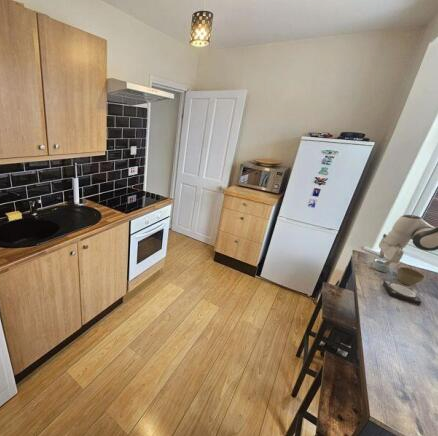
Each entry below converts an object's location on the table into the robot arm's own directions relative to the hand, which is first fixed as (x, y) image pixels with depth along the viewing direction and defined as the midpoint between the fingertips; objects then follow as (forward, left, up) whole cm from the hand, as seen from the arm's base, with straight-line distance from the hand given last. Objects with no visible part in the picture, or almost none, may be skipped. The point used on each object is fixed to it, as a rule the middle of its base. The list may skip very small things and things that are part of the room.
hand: (383, 261), depth 137 cm
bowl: (0, 0, -6) cm, 6 cm away
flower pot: (-10, +8, -6) cm, 14 cm away
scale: (-3, +24, -6) cm, 25 cm away
